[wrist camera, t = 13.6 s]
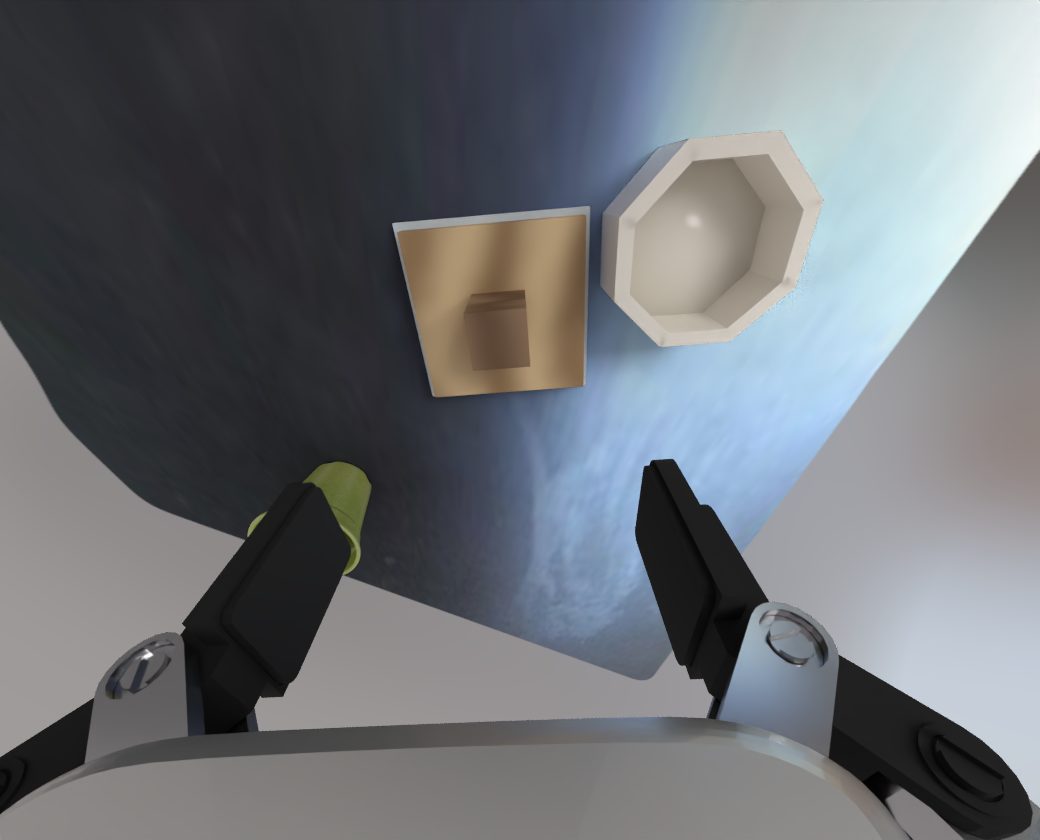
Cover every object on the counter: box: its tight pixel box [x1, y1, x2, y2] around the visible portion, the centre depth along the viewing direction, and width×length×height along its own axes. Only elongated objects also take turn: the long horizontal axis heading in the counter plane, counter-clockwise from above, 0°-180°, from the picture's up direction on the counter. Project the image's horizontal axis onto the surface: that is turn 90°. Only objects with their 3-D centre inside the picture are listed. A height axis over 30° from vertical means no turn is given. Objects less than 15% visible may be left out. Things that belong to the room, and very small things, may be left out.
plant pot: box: [248, 462, 371, 575], centre depth 36 cm, size 9×9×9 cm
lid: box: [397, 214, 586, 397], centre depth 27 cm, size 13×13×6 cm
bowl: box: [600, 130, 824, 347], centre depth 25 cm, size 12×12×5 cm
